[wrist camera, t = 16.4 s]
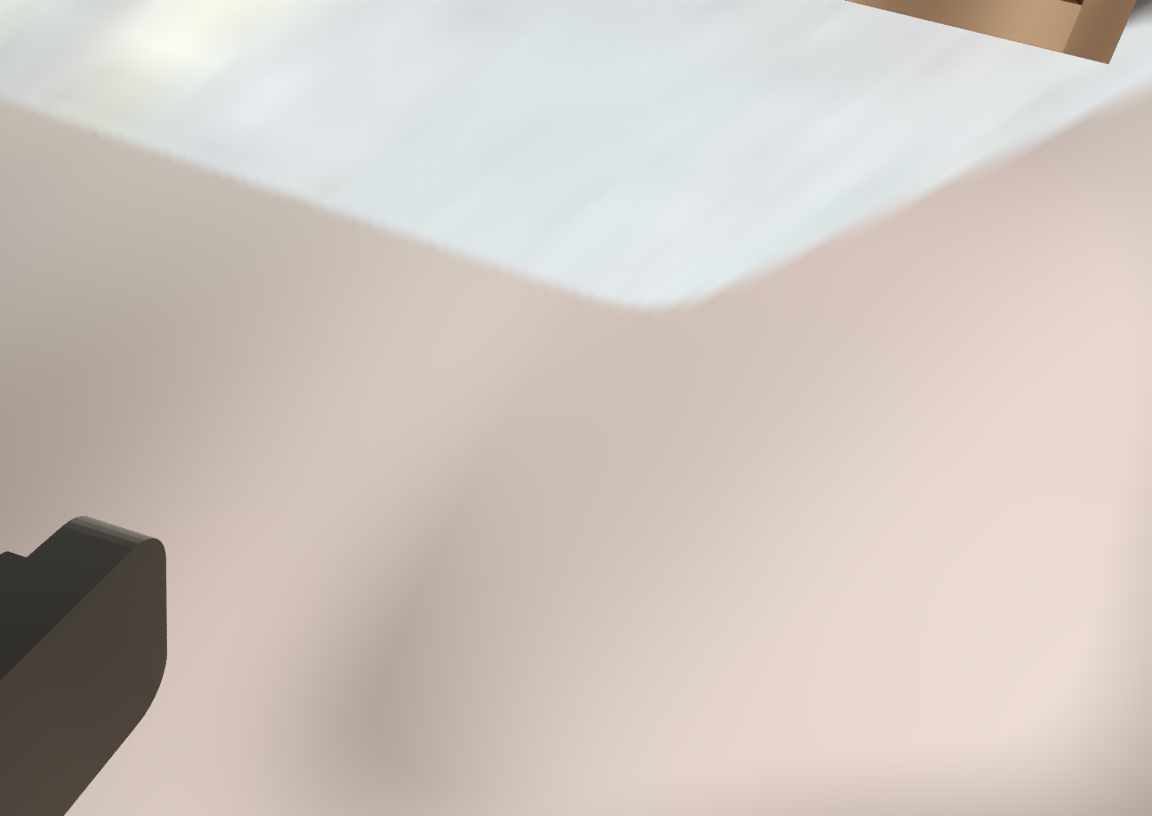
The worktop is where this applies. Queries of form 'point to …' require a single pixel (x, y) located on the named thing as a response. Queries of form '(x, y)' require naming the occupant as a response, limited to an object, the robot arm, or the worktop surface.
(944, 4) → the walnut rack
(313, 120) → the worktop surface
